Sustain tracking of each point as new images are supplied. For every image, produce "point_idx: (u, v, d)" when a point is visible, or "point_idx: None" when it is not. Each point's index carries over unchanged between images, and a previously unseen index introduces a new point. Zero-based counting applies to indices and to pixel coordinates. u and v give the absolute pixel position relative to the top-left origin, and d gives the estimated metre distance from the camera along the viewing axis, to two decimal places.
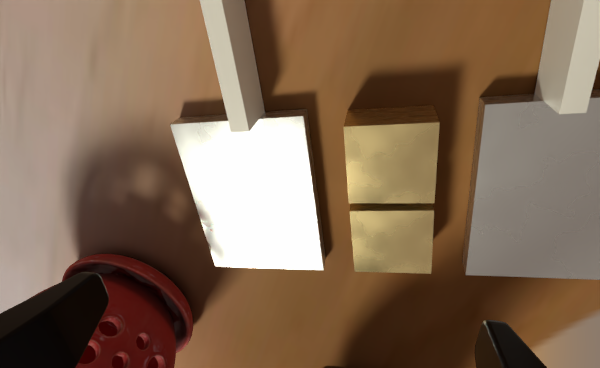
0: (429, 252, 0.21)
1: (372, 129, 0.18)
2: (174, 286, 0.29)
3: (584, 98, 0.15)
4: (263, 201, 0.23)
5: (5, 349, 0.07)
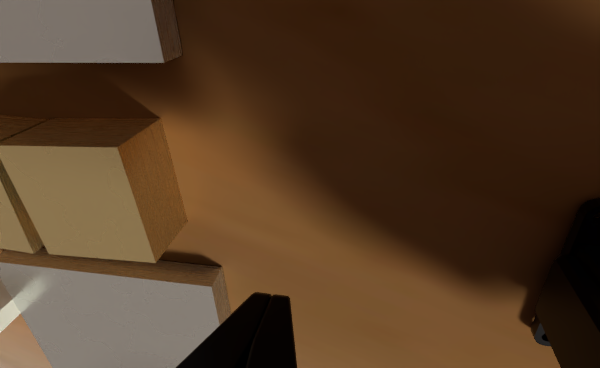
0: (72, 151, 0.11)
1: None
2: None
3: None
4: (113, 323, 0.18)
5: None
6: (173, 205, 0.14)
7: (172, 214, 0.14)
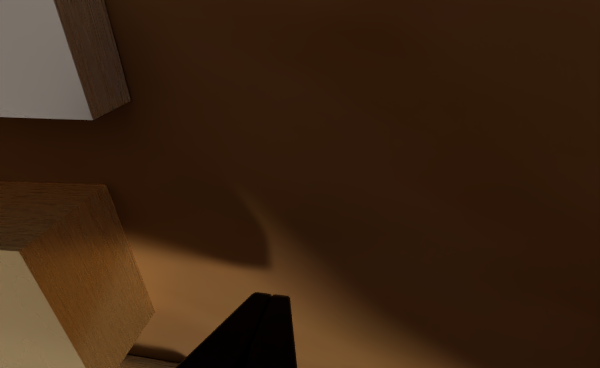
0: None
1: None
2: None
3: None
4: None
5: None
6: (130, 299, 0.10)
7: (129, 312, 0.10)
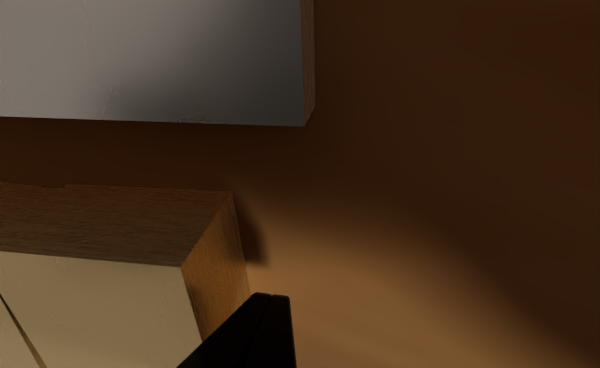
0: (101, 266, 0.07)
1: None
2: None
3: None
4: None
5: None
6: None
7: None
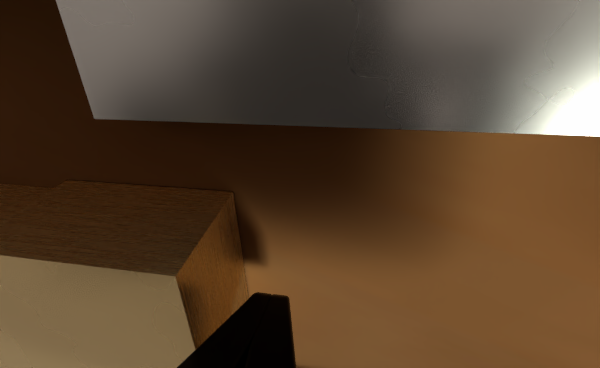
0: (93, 272, 0.07)
1: None
2: None
3: None
4: None
5: None
6: None
7: None
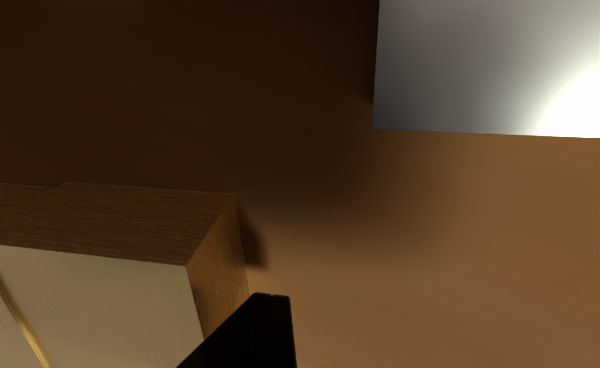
0: (105, 262, 0.07)
1: None
2: None
3: None
4: None
5: None
6: None
7: None
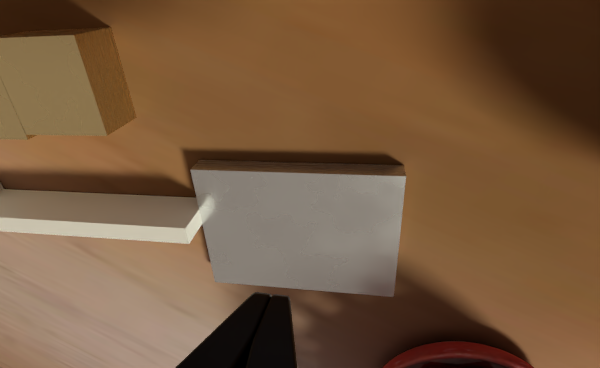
0: (41, 40, 0.16)
1: None
2: (427, 346, 0.23)
3: None
4: (294, 225, 0.20)
5: None
6: (122, 99, 0.19)
7: (121, 105, 0.19)
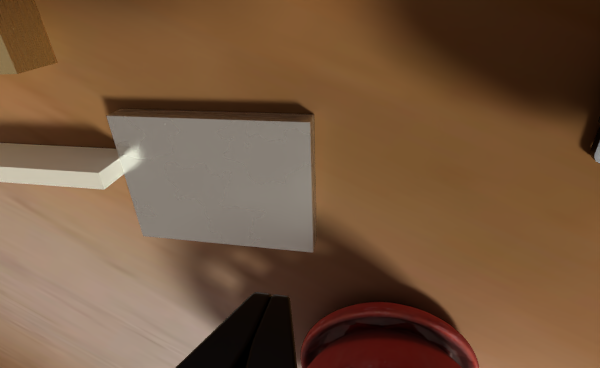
0: None
1: None
2: (351, 306, 0.23)
3: None
4: (210, 175, 0.20)
5: None
6: (38, 41, 0.19)
7: (37, 47, 0.19)
